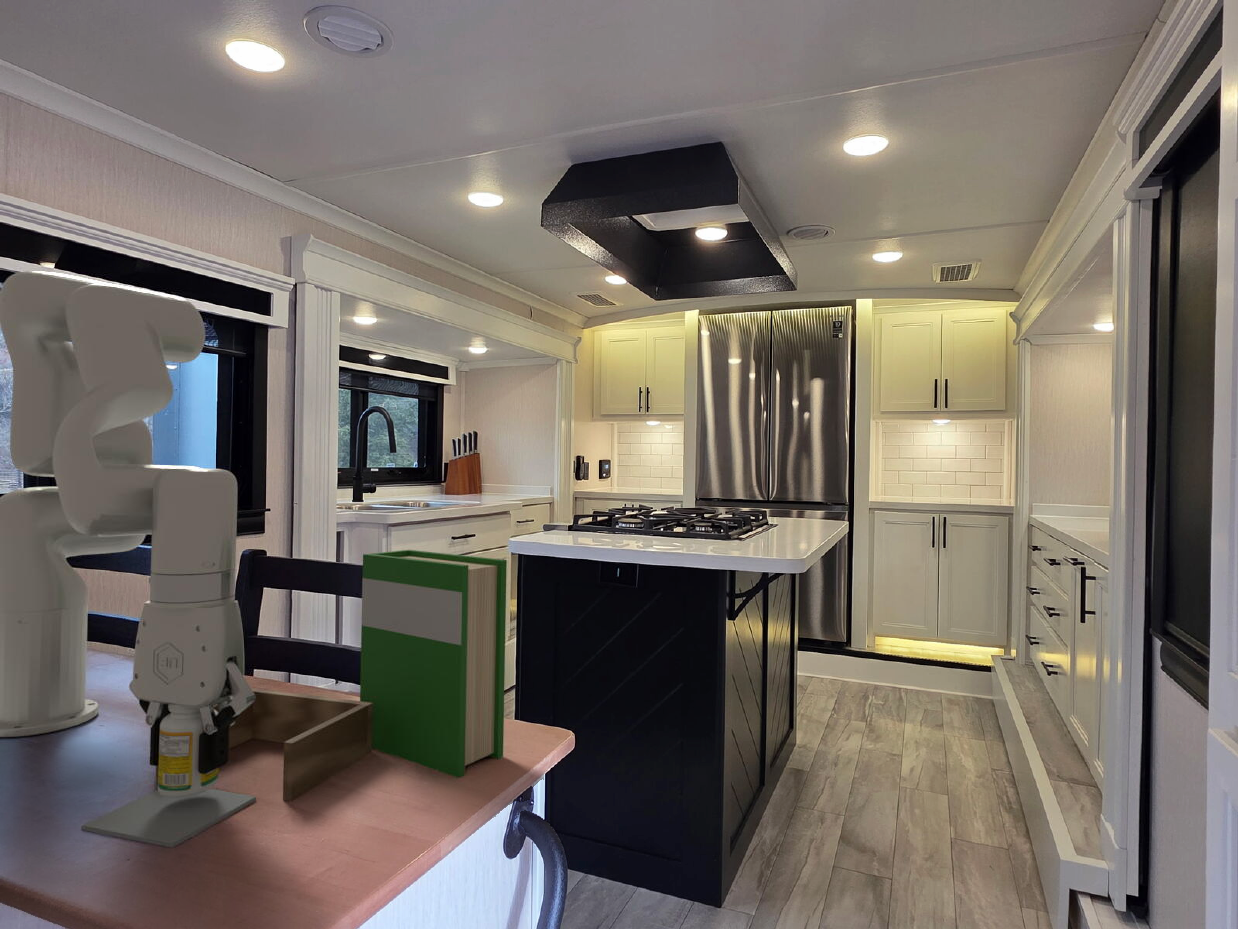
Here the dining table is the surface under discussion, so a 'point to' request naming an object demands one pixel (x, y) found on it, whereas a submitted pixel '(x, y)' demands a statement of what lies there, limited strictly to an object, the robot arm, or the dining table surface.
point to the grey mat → (168, 816)
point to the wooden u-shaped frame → (306, 734)
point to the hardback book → (434, 656)
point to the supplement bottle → (182, 754)
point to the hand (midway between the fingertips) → (189, 762)
